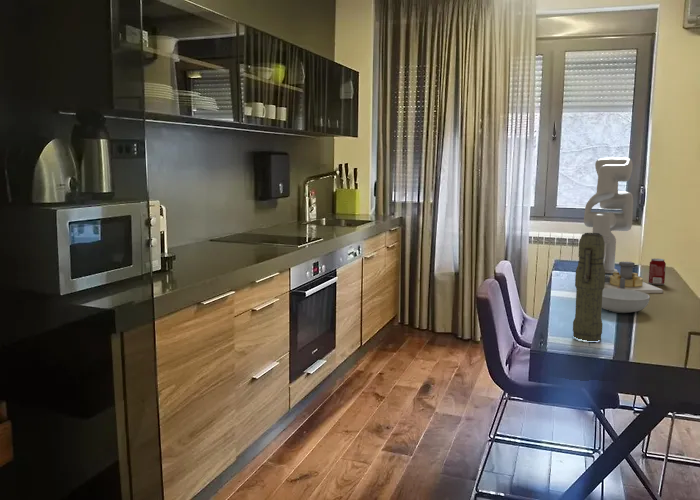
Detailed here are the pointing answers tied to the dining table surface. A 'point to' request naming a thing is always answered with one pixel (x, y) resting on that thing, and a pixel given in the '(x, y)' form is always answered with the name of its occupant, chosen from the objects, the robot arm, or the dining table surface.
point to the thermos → (589, 288)
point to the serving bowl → (624, 300)
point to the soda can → (657, 271)
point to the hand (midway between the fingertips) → (598, 277)
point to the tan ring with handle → (632, 282)
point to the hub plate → (627, 274)
